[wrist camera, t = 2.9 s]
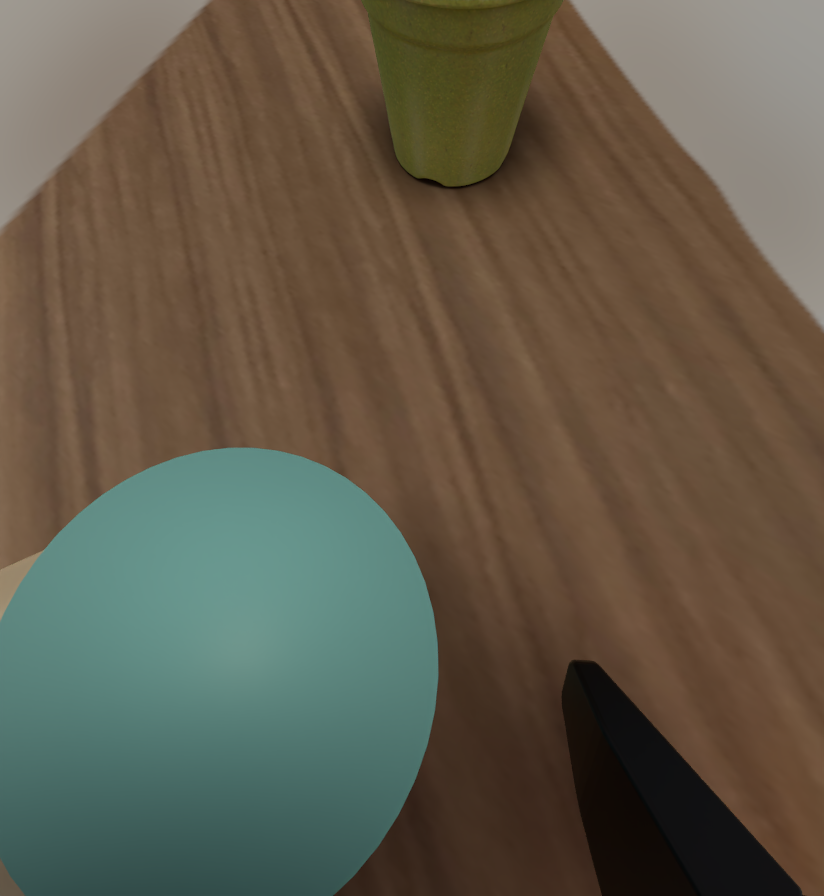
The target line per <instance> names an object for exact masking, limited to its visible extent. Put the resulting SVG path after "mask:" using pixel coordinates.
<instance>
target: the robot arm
mask: <svg viewBox="0 0 824 896" xmlns="http://www.w3.org/2000/svg"><path fill="white" fill-rule="evenodd" d="M562 709H563V715H564V721H565V727H566V733H567V739H568V746H569V752H570V758H571V764H572V770H573V776H574V782H575V788H576V794H577V799H578V805H579V809H580V813H581V818H582V822H583V826H584V830H585V833H586V837H587V841H588V845H589V849H590V852H591V856H592V860H593V864H594V868H595V871H596V875H597V879H598V883H599V887H600V890H601V894H602V896H803V895H802V891H801V889H800V887H799V886H798V885H797V884H796V883H795V882H794V881H793V879H792V878H791V877H790V876H789V875H788V874H787V873H786V872H785V871H784V869H783V868H782V867H781V866H780V865H779V864H778V863H777V862H776V861H775V860H774V858H773V857H772V856H771V855H770V854H769V853H768V852H767V851H766V850H765V848H764V847H763V846H762V845H761V844H760V843H759V842H758V841H757V840H756V838H755V837H754V836H753V835H752V834H751V833H750V832H749V831H748V830H747V828H746V827H745V826H744V825H743V824H742V823H741V822H740V821H739V820H738V819H737V817H736V816H735V815H734V814H733V813H732V812H731V811H730V810H729V809H728V807H727V806H726V805H725V804H724V803H723V802H722V801H721V800H720V799H719V797H718V796H717V795H716V794H715V793H714V792H713V791H712V790H711V789H710V787H709V786H708V785H707V784H706V783H705V782H704V781H703V780H702V779H701V778H700V776H699V775H698V774H697V773H696V772H695V771H694V770H693V769H692V768H691V766H690V765H689V764H688V763H687V762H686V761H685V760H684V759H683V758H682V756H681V755H680V754H679V753H678V752H677V751H676V750H675V749H674V748H673V746H672V745H671V744H670V743H669V742H668V741H667V740H666V739H665V738H664V737H663V735H662V734H661V733H660V732H659V731H658V730H657V729H656V728H655V727H654V725H653V724H652V723H651V722H650V721H649V720H648V719H647V718H646V717H645V715H644V714H643V713H642V712H641V711H640V710H639V709H638V708H637V707H636V705H635V704H634V703H633V702H632V701H631V700H630V699H629V698H628V697H627V696H626V694H625V693H624V692H623V691H622V690H621V689H620V688H619V687H618V686H617V684H616V683H615V682H614V681H613V680H612V679H611V678H610V677H609V676H608V674H607V673H606V672H605V671H604V670H603V669H602V668H601V667H600V666H599V665H598V664H597V663H596V662H594V661H588V660H572V661H571V662H570V663H569V666H568V669H567V673H566V677H565V681H564V685H563V690H562ZM804 896H805V895H804Z"/></svg>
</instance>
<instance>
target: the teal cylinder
mask: <svg viewBox="0 0 824 896" xmlns="http://www.w3.org/2000/svg"><path fill="white" fill-rule="evenodd" d="M437 685H438V642H437V635H436V628H435V620H434V613H433V609H432V605H431V602H430V598H429V594H428V591H427V587H426V583H425V581H424V578H423V576H422V574H421V571H420V569H419V566H418V564H417V561H416V559H415V557H414V555H413V553H412V551H411V550H410V548H409V546H408V544H407V543H406V541H405V539H404V537H403V536H402V534H401V532H400V531H399V530H398V528H397V527H396V526H395V524H394V523H393V522H392V521H391V519H390V518H389V517H388V515H387V514H386V513H385V511H384V510H383V509H382V508H381V507H380V506H379V505H378V504H377V503H376V502H375V501H374V500H373V499H372V498H371V497H370V496H369V495H368V494H367V493H365V492H364V491H363V490H361V489H360V488H359V487H357V486H356V485H355V484H353V483H352V482H351V481H349V480H348V479H347V478H345V477H343V476H342V475H340V474H338V473H336V472H335V471H333V470H331V469H329V468H327V467H326V466H323V465H321V464H318V463H316V462H313V461H311V460H308V459H306V458H303V457H300V456H296V455H293V454H289V453H285V452H281V451H275V450H267V449H259V448H224V449H216V450H208V451H201V452H197V453H193V454H189V455H185V456H181V457H177V458H174V459H172V460H169V461H166V462H163V463H161V464H158V465H155V466H153V467H150V468H148V469H146V470H144V471H142V472H140V473H138V474H136V475H134V476H132V477H130V478H128V479H126V480H125V481H123V482H122V483H120V484H119V485H117V486H115V487H114V488H112V489H111V490H109V491H108V492H106V493H104V494H103V495H102V496H100V497H99V498H98V499H96V500H95V501H94V502H93V503H91V504H90V505H89V506H88V507H86V508H85V509H84V510H83V511H81V512H80V513H79V514H78V515H77V516H76V517H75V518H74V519H73V520H72V521H71V522H70V523H69V524H68V525H67V526H66V527H64V528H63V529H62V530H61V531H60V532H59V533H58V534H57V535H56V537H55V538H54V539H53V540H52V541H51V543H50V544H49V545H48V546H47V547H46V549H45V550H44V551H43V552H42V553H41V554H40V556H39V557H38V558H37V560H36V561H35V562H34V564H33V565H32V567H31V568H30V570H29V571H28V573H27V574H26V576H25V577H24V578H23V580H22V581H21V583H20V584H19V586H18V588H17V590H16V592H15V593H14V595H13V597H12V599H11V601H10V603H9V605H8V606H7V608H6V610H5V612H4V614H3V616H2V619H1V621H0V859H1V860H2V862H3V864H4V866H5V868H6V870H7V872H8V873H9V875H10V877H11V878H12V879H13V880H14V882H15V883H16V884H17V886H18V887H19V888H20V889H21V891H22V892H23V893H24V895H25V896H333V895H334V894H335V893H336V892H337V891H338V890H340V889H341V888H342V887H343V886H344V885H345V884H346V883H347V882H348V881H349V880H350V879H351V878H352V877H353V876H354V875H355V874H356V873H357V872H358V870H359V869H360V868H361V867H362V865H363V864H364V863H365V862H366V861H367V859H368V858H369V857H370V856H371V855H372V853H373V852H374V851H375V850H376V849H377V847H378V846H379V844H380V843H381V841H382V840H383V838H384V837H385V835H386V833H387V832H388V830H389V829H390V827H391V826H392V824H393V823H394V821H395V819H396V818H397V816H398V815H399V813H400V811H401V809H402V807H403V805H404V803H405V800H406V798H407V796H408V794H409V792H410V790H411V788H412V786H413V784H414V782H415V780H416V777H417V774H418V771H419V768H420V765H421V762H422V759H423V756H424V754H425V751H426V748H427V745H428V740H429V736H430V731H431V726H432V722H433V717H434V713H435V706H436V695H437Z"/></svg>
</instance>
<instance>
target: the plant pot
mask: <svg viewBox="0 0 824 896" xmlns="http://www.w3.org/2000/svg"><path fill="white" fill-rule="evenodd" d="M361 1H362V3H363V5H364V7H365V9H366V10H367V12H368V17H369V22H370V27H371V32H372V37H373V42H374V47H375V52H376V57H377V62H378V67H379V72H380V77H381V83H382V88H383V93H384V98H385V104H386V109H387V114H388V119H389V125H390V130H391V136H392V140H393V145H394V150H395V154H396V157H397V159H398V161H399V163H400V164H401V165H402V167H403V168H404V169H405V170H406V171H407V172H408V173H410V174H411V175H412V176H414V177H416V178H419V179H420V178H428V179H432V180H435V181H437V182H439V183H441V184H442V185H444V186H464V185H469V184H472V183H476V182H478V181H481V180H483V179H485V178H487V177H489V176H490V175H492V174H493V173H494V172H495V171H497V170H498V169H499V167H500V166H501V164H502V162H503V160H504V159H505V157H506V155H507V153H508V151H509V148H510V145H511V142H512V139H513V136H514V133H515V129H516V126H517V123H518V120H519V117H520V114H521V111H522V108H523V105H524V101H525V98H526V95H527V92H528V89H529V86H530V83H531V80H532V77H533V74H534V71H535V68H536V65H537V62H538V59H539V56H540V53H541V50H542V47H543V45H544V42H545V39H546V36H547V33H548V30H549V27H550V24H551V21H552V18H553V16H554V14H555V13H556V12H557V10H558V9H559V7H560V6H561V4H562V2H563V0H361Z"/></svg>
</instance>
